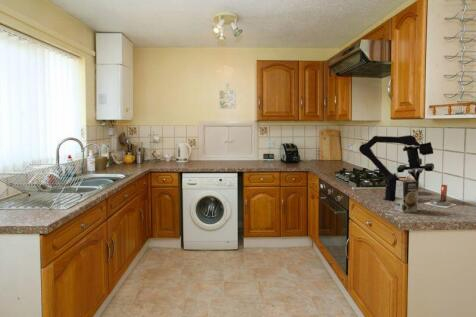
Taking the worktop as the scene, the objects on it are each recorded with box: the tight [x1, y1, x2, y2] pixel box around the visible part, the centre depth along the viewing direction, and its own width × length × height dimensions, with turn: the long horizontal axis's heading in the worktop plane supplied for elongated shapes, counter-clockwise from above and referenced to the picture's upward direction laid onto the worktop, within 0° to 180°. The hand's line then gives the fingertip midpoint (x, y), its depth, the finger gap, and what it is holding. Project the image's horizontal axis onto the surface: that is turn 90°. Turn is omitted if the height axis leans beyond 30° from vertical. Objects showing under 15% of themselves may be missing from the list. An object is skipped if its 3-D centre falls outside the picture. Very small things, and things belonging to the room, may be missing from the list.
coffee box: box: [394, 180, 420, 214], centre depth 179 cm, size 9×6×16 cm
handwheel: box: [429, 184, 451, 205], centre depth 194 cm, size 11×10×10 cm
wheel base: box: [423, 201, 457, 209], centre depth 194 cm, size 12×12×1 cm
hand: (417, 181), depth 202 cm, fingers closed
